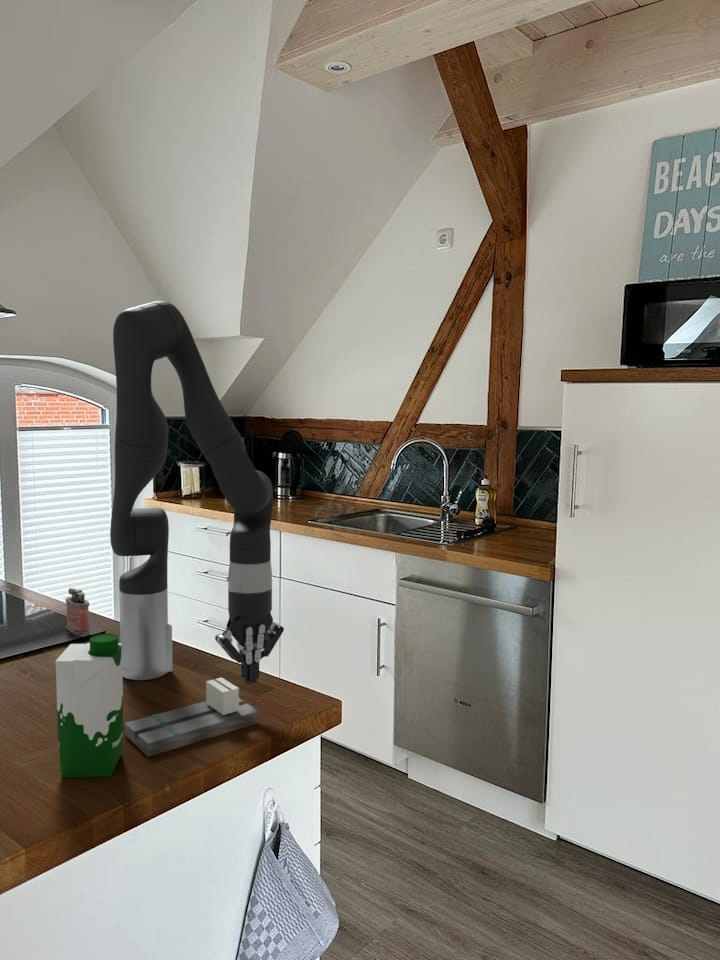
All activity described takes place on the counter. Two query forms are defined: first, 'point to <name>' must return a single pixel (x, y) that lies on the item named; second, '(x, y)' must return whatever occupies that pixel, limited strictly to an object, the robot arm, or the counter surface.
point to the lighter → (77, 612)
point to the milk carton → (90, 707)
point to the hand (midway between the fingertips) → (250, 682)
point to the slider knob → (222, 696)
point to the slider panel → (186, 726)
